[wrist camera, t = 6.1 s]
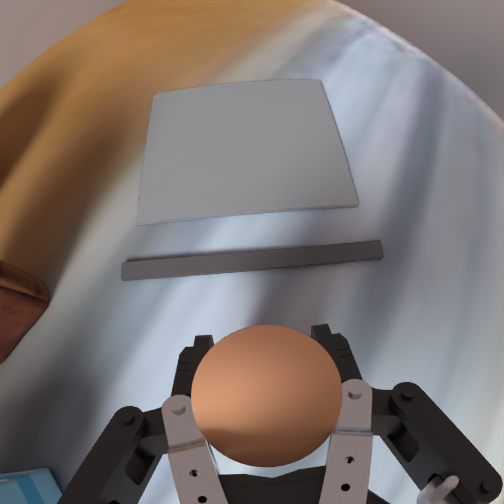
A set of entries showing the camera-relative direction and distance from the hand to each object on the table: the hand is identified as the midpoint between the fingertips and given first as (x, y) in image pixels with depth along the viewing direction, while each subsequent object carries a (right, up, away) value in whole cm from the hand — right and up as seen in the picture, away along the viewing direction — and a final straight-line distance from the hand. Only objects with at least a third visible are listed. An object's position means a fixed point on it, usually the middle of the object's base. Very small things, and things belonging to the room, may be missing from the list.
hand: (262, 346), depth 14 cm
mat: (-1, +12, +10) cm, 15 cm away
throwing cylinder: (0, -3, +3) cm, 5 cm away
